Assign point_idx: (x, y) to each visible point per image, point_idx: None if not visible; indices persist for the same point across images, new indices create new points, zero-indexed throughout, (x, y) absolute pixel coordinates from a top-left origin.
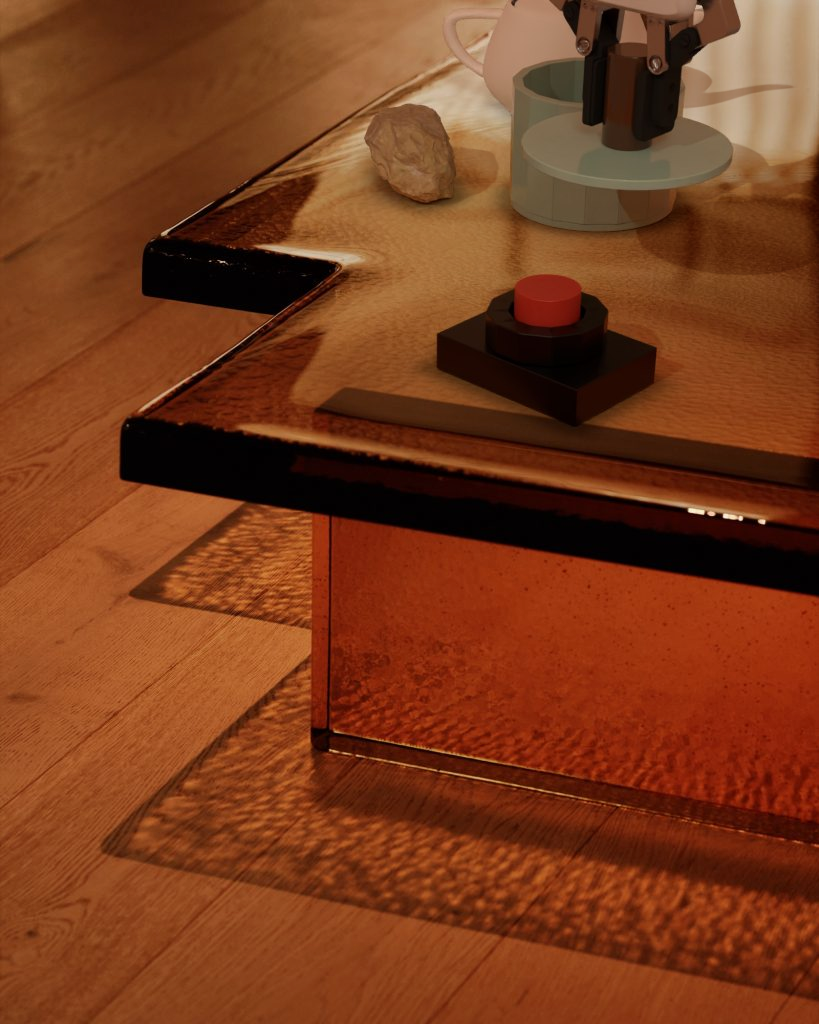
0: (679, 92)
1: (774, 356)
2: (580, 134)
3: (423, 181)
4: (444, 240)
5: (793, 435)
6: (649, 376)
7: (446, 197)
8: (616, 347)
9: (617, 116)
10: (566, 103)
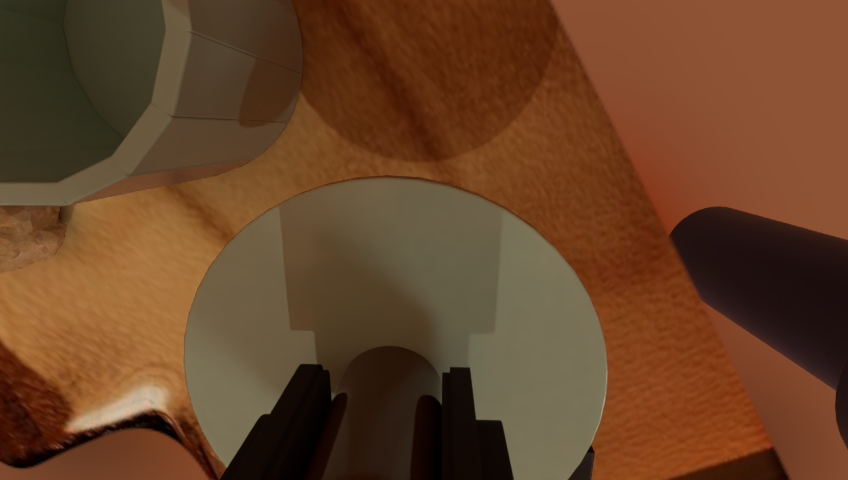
0: (510, 467)
1: (653, 300)
2: None
3: (37, 252)
4: (172, 294)
5: (743, 424)
6: None
7: None
8: None
9: None
10: (75, 190)
